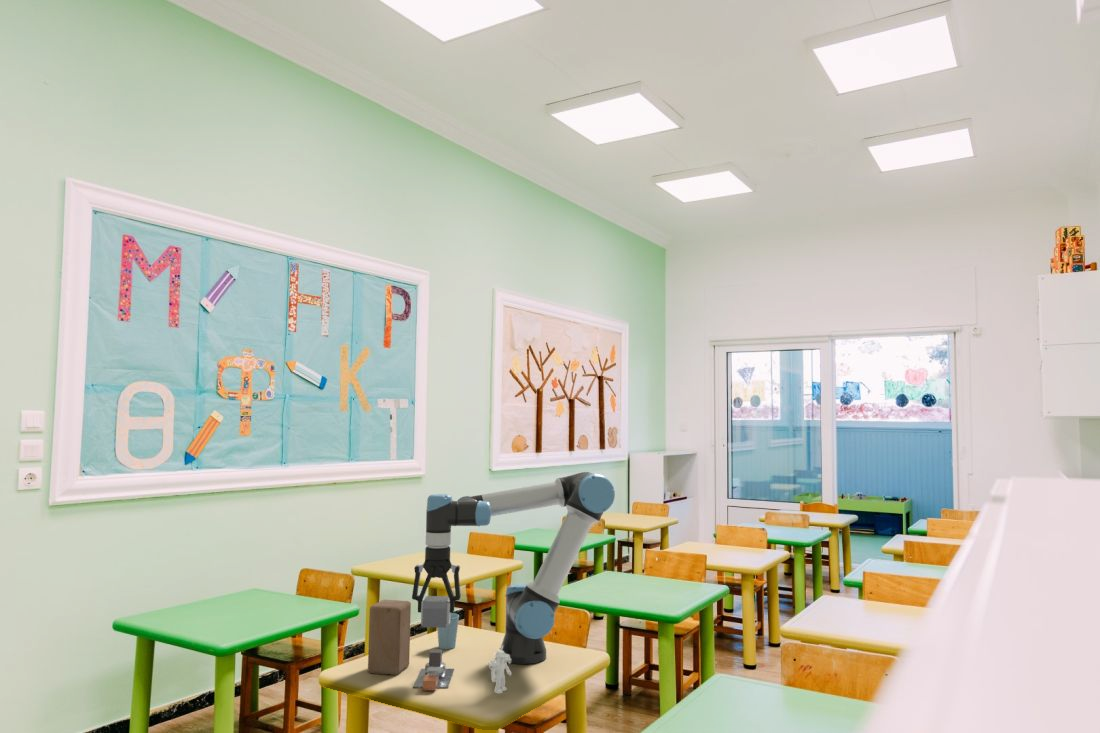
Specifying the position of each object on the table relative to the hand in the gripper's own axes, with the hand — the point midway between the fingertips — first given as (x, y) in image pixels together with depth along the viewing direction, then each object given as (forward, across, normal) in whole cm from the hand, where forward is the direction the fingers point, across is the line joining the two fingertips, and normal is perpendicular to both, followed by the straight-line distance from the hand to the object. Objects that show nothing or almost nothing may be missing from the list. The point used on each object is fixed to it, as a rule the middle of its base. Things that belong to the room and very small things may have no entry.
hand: (435, 623), depth 222 cm
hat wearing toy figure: (+16, -20, +12) cm, 28 cm away
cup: (+16, 0, -30) cm, 34 cm away
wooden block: (+16, +15, -6) cm, 22 cm away
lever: (+15, 0, +3) cm, 16 cm away
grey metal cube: (0, 0, 0) cm, 0 cm away
